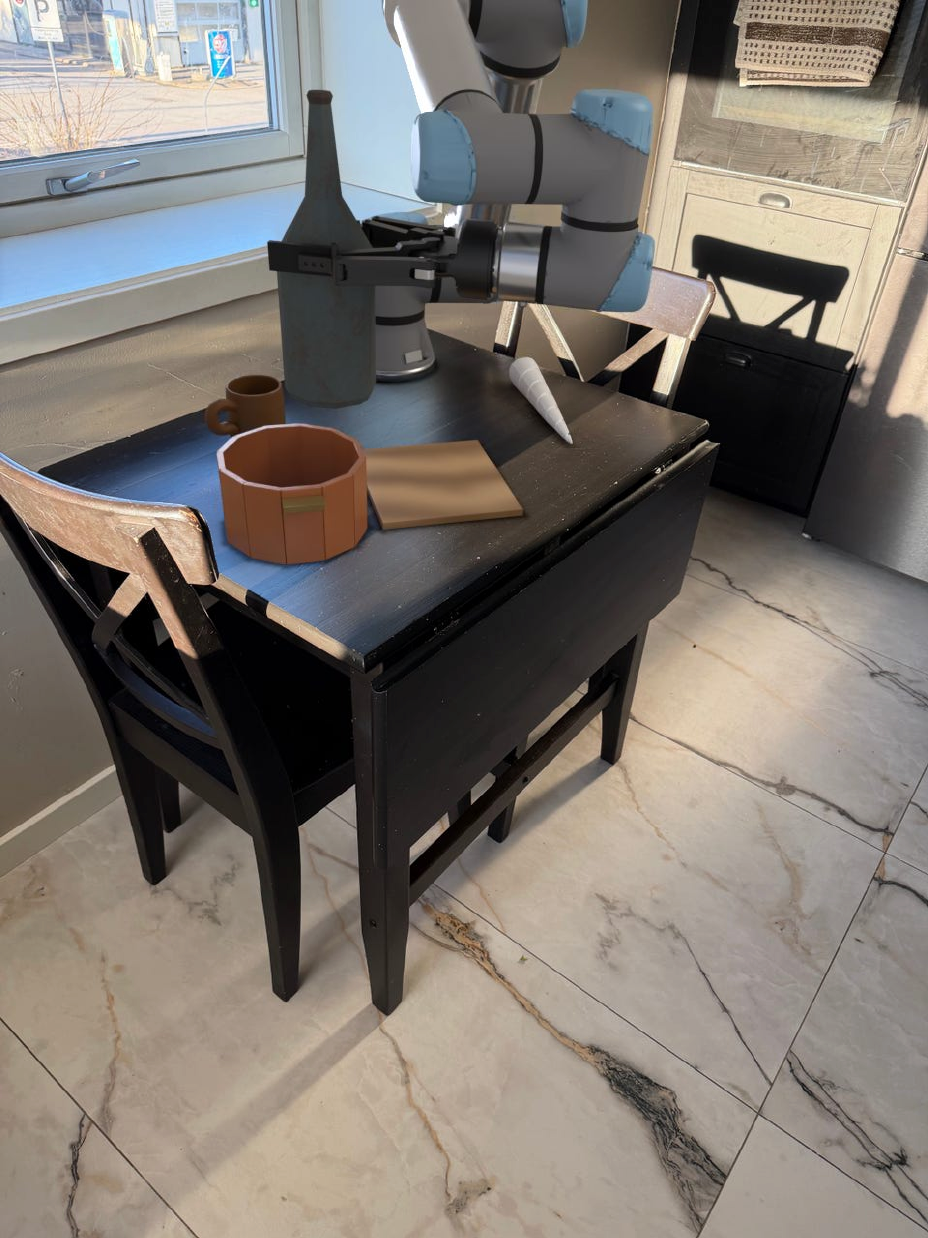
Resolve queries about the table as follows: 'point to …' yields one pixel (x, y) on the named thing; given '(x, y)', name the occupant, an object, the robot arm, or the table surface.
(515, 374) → the unicorn horn
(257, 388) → the mug
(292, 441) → the ice bucket
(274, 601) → the table surface
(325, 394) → the bottle
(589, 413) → the table surface
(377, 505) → the wooden board
